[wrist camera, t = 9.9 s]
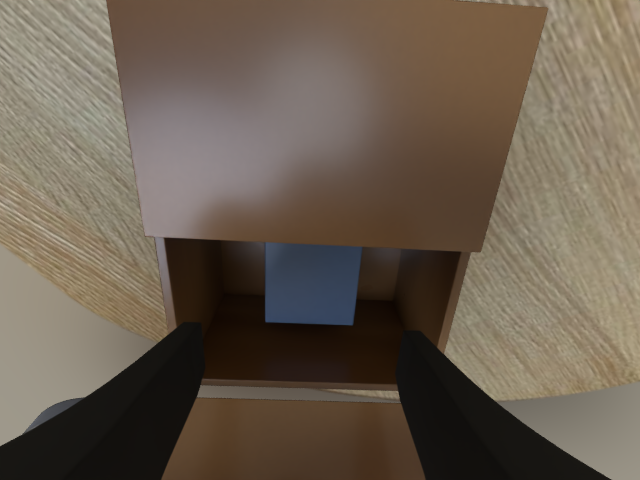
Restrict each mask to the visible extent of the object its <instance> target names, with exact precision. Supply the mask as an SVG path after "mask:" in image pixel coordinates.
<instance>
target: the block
mask: <svg viewBox="0 0 640 480" xmlns="http://www.w3.org/2000/svg"><path fill="white" fill-rule="evenodd" d="M362 248H363V247H355V246H334V245H313V244H292V243H271V242H265V321H266V322H276V323H303V324H329V325H353V323H354V315H355V306H356V298H357V290H358V281H359V273H360V265H361V257H362Z"/></svg>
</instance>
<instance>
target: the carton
mask: <svg viewBox="0 0 640 480" xmlns="http://www.w3.org/2000/svg"><path fill="white" fill-rule="evenodd" d="M106 2H107V8H108V14H109V20H110V27H111V33H112V39H113V45H114V51H115V57H116V63H117V70H118V76H119V82H120V88H121V94H122V100H123V107H124V113H125V119H126V125H127V131H128V137H129V143H130V150H131V156H132V162H133V168H134V174H135V180H136V186H137V193H138V199H139V205H140V211H141V217H142V223H143V229H144V236H145V237H154V240H155V247H156V253H157V260H158V267H159V273H160V280H161V287H162V293H163V300H164V307H165V313H166V320H167V326H168V333H169V334H170V333H171V332H172V331H173V330H174V329H176V328H177V327H178V326H179V325H180V324H182V323H183V322H200V323H201V326H202V336H203V346H204V356H205V367H206V368H205V371H204V375H203V378H202V382H201V385H211V386H213V385H214V386H246V387H248V386H249V387H279V388H280V387H281V388H313V389H347V390H381V391H398V387H397V382H396V377H395V371H396V366H397V361H398V356H399V350H400V345H401V340H402V335H403V330H414V331H421V332H422V333H423V334H424V335H425V336H426V337H427V338H428V339H429V340H430V341H431V342H432V343H433V344H434V345H435V346H436V347H437V348H438V349H439V350H440V351H441V352H442V353H443V354H444V352H445V348H446V344H447V341H448V337H449V333H450V329H451V325H452V322H453V318H454V314H455V310H456V306H457V303H458V299H459V295H460V291H461V288H462V284H463V280H464V276H465V272H466V269H467V265H468V261H469V257H470V253H471V252H481V249H482V246H483V242H484V239H485V235H486V231H487V228H488V224H489V220H490V217H491V213H492V210H493V206H494V202H495V199H496V195H497V192H498V188H499V184H500V181H501V177H502V174H503V170H504V166H505V163H506V159H507V156H508V152H509V148H510V145H511V141H512V137H513V134H514V130H515V127H516V123H517V119H518V116H519V112H520V109H521V105H522V101H523V98H524V94H525V91H526V87H527V83H528V80H529V76H530V73H531V69H532V65H533V62H534V58H535V54H536V51H537V47H538V44H539V40H540V36H541V33H542V29H543V26H544V22H545V18H546V15H547V11H548V8H547V7H534V6H522V5H509V4H496V3H483V2H471V1H458V0H106ZM265 242H271V243H292V244H313V245H334V246H355V247H363V248H362V257H361V265H360V273H359V281H358V290H357V298H356V306H355V315H354V323H353V325H329V324H303V323H276V322H266V321H265Z"/></svg>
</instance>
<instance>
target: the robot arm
mask: <svg viewBox="0 0 640 480" xmlns="http://www.w3.org/2000/svg"><path fill="white" fill-rule="evenodd" d="M205 368H206V367H205V356H204V346H203V336H202V326H201V323H200V322H183V323H182V324H180V325H179V326H178V327H177V328H176V329H174V330H173V331H172V332H171V333H170V334H168V335H167V336H166V337H165V338H164V339H162V340H161V341H160V342H159V343H158V344H156V345H155V346H154V347H153V348H152V349H150V350H149V351H148V352H147V353H145V354H144V355H143V356H142V357H140V358H139V359H138V360H137V361H135V362H134V363H133V364H131V365H130V366H129V367H127V368H126V369H125V370H124V371H122V372H121V373H119V374H118V375H117V376H115V377H114V378H113V379H111V380H110V381H109V382H107V383H106V384H105V385H103V386H102V387H100V388H99V389H97V390H96V391H94V392H93V393H91V394H90V395H88V396H87V397H85V398H83V399H82V400H80V401H79V402H77V403H76V404H74V405H73V406H71V407H69V408H68V409H66V410H64V411H63V412H61V413H59V414H58V415H56V416H54V417H52V418H51V419H49V420H47V421H45V422H44V423H42V424H40V425H38V426H37V427H35V428H33V429H31V430H30V431H28V432H26V433H24V434H23V435H21V436H19V437H17V438H15V439H13V440H11V441H9V442H7V443H5V444H4V445H2V446H0V480H161V479H162V476H163V474H164V471H165V469H166V466H167V464H168V461H169V459H170V457H171V455H172V452H173V450H174V448H175V446H176V443H177V441H178V439H179V436H180V434H181V432H182V430H183V427H184V425H185V423H186V421H187V418H188V416H189V414H190V411H191V409H192V407H193V404H194V402H195V400H196V397H197V395H198V391H199V388H200V385H201V382H202V378H203V375H204V371H205ZM395 377H396V382H397V387H398V392H399V397H400V402H401V405H402V408H403V411H404V414H405V417H406V420H407V423H408V426H409V430H410V433H411V436H412V439H413V442H414V445H415V448H416V451H417V454H418V457H419V460H420V463H421V466H422V469H423V472H424V476H425V479H426V480H611V479H609V478H608V477H606V476H604V475H603V474H601V473H599V472H597V471H596V470H594V469H593V468H591V467H589V466H587V465H586V464H584V463H583V462H581V461H579V460H578V459H576V458H574V457H573V456H571V455H570V454H568V453H566V452H565V451H563V450H562V449H560V448H559V447H557V446H556V445H554V444H553V443H551V442H550V441H548V440H547V439H545V438H544V437H542V436H541V435H539V434H538V433H536V432H535V431H534V430H532V429H531V428H529V427H528V426H527V425H525V424H524V423H522V422H521V421H520V420H518V419H517V418H516V417H515V416H513V415H512V414H511V413H509V412H508V411H507V410H505V409H504V408H503V407H502V406H500V405H499V404H498V403H497V402H495V401H494V400H493V399H492V398H491V397H489V396H488V395H487V394H486V393H485V392H484V391H482V390H481V389H480V388H479V387H478V386H477V385H476V384H474V383H473V382H472V381H471V380H470V379H469V378H468V377H467V376H466V375H465V374H464V373H462V372H461V371H460V370H459V369H458V368H457V367H456V366H455V365H454V364H453V363H452V362H451V361H450V360H449V359H448V358H447V357H446V356H445V355H444V354H443V353H442V352H441V351H440V350H439V349H438V348H437V347H436V346H435V345H434V344H433V343H432V342H431V341H430V340H429V339H428V338H427V337H426V336H425V335H424V334H423V333H422V332H421V331H414V330H403V335H402V340H401V345H400V350H399V356H398V361H397V366H396V371H395Z"/></svg>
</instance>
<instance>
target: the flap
mask: <svg viewBox="0 0 640 480" xmlns="http://www.w3.org/2000/svg"><path fill="white" fill-rule="evenodd" d="M161 480H426V479H425V476H424V472H423V469H422V466H421V463H420V460H419V457H418V454H417V451H416V448H415V445H414V442H413V439H412V436H411V433H410V430H409V426H408V423H407V420H406V417H405V414H404V411H403V408H402V405H401V403H375V402H374V403H373V402H338V401H302V400H268V399H267V400H266V399H232V398H227V399H226V398H196V400H195V402H194V404H193V407H192V409H191V411H190V414H189V416H188V418H187V421H186V423H185V425H184V427H183V430H182V432H181V434H180V436H179V439H178V441H177V443H176V446H175V448H174V450H173V452H172V455H171V457H170V459H169V461H168V464H167V466H166V469H165V471H164V474H163V476H162V479H161Z"/></svg>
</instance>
